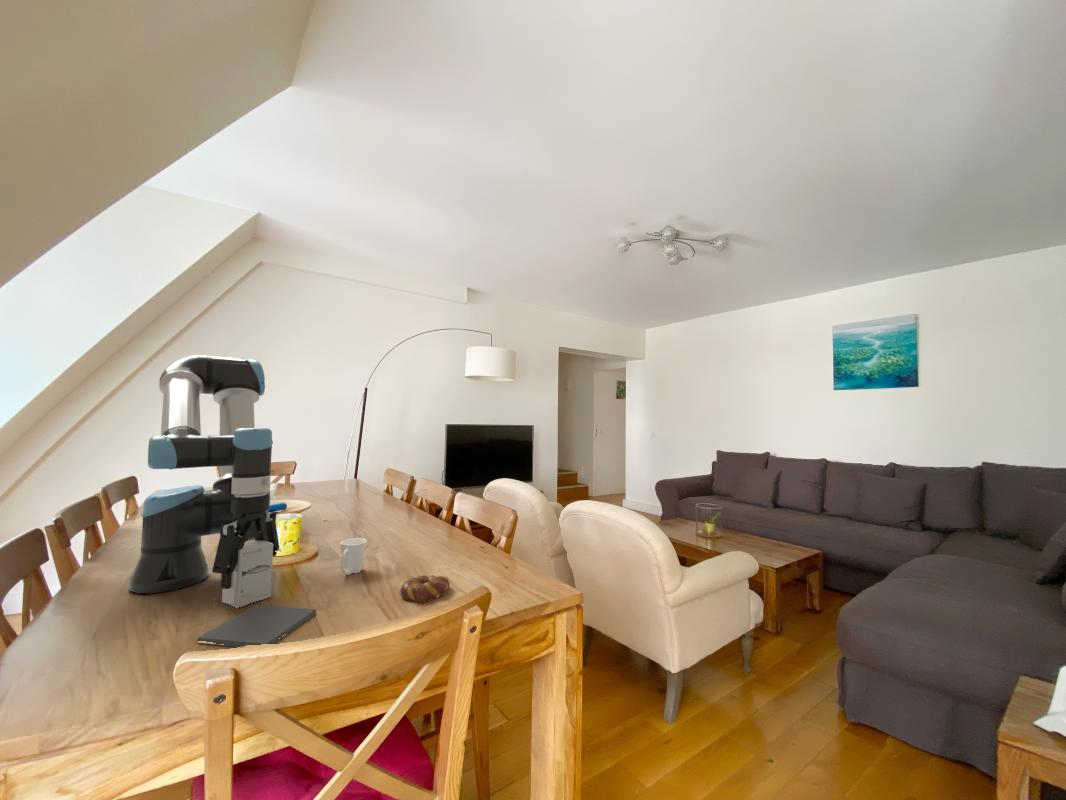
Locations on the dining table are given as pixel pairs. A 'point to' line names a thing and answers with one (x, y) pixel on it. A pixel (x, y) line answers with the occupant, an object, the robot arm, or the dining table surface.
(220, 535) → the robot arm
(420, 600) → the pretzel
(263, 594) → the supplement box
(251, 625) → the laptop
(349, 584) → the dining table surface
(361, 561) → the cup
